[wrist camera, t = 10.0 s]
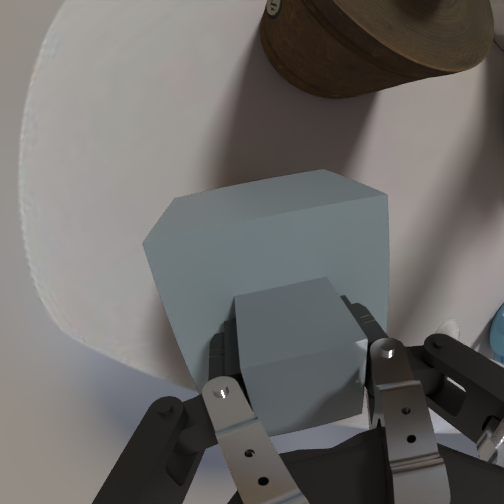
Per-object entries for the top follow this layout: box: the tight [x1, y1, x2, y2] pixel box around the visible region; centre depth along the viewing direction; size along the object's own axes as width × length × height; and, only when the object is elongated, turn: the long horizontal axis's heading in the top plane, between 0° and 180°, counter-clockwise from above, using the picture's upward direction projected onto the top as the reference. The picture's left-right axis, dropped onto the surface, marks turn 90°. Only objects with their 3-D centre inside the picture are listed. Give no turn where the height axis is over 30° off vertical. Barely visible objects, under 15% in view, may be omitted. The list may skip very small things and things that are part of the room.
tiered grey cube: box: [142, 169, 389, 437], centre depth 16 cm, size 10×10×13 cm
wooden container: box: [261, 0, 494, 99], centre depth 17 cm, size 15×15×22 cm
